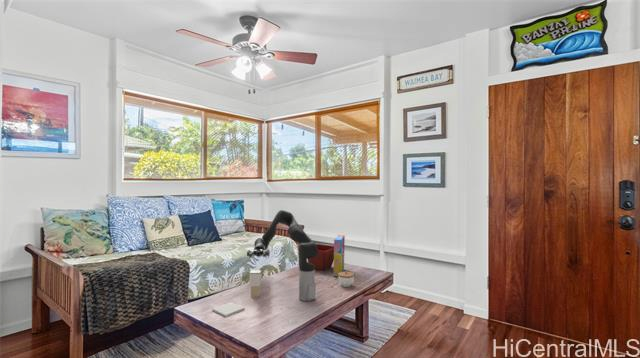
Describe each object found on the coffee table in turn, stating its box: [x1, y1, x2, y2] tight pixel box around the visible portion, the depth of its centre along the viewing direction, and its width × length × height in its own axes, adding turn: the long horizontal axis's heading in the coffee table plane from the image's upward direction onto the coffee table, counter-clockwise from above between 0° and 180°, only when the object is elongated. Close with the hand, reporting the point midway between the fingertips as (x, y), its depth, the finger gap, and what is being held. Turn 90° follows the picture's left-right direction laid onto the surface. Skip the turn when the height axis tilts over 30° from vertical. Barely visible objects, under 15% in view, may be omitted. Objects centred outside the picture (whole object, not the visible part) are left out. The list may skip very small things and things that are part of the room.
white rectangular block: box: [248, 269, 262, 287], centre depth 188 cm, size 6×6×8 cm
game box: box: [332, 234, 346, 277], centre depth 237 cm, size 21×6×27 cm, turn 168°
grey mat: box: [211, 301, 245, 318], centre depth 166 cm, size 12×12×1 cm
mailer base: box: [250, 286, 260, 298], centre depth 188 cm, size 5×5×14 cm
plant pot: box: [307, 243, 334, 272], centre depth 248 cm, size 19×19×17 cm
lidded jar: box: [337, 270, 355, 288], centre depth 209 cm, size 11×11×9 cm
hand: (257, 255), depth 199 cm, fingers open, 8 cm apart
